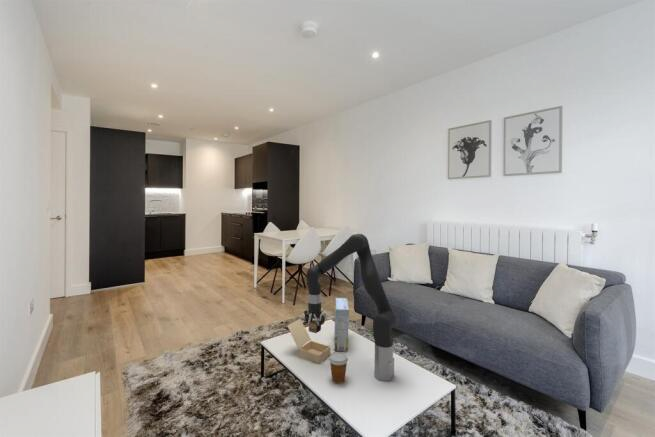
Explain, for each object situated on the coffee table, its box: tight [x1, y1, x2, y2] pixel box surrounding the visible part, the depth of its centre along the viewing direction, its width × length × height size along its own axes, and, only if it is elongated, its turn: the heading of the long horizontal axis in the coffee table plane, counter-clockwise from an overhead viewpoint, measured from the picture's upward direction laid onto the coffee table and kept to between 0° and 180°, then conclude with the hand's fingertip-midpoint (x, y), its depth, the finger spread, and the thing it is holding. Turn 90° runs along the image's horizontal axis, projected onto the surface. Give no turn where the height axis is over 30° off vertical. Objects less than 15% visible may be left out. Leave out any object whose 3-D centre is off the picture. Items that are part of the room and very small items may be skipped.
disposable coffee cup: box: [328, 351, 349, 384], centre depth 153 cm, size 10×10×12 cm
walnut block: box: [308, 319, 319, 334], centre depth 174 cm, size 5×5×5 cm
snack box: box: [334, 297, 350, 352], centre depth 191 cm, size 22×9×26 cm, turn 179°
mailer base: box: [298, 340, 332, 365], centre depth 175 cm, size 14×12×5 cm
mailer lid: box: [286, 318, 312, 349], centre depth 181 cm, size 14×12×1 cm
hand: (314, 329), depth 175 cm, fingers closed on walnut block, 5 cm apart
